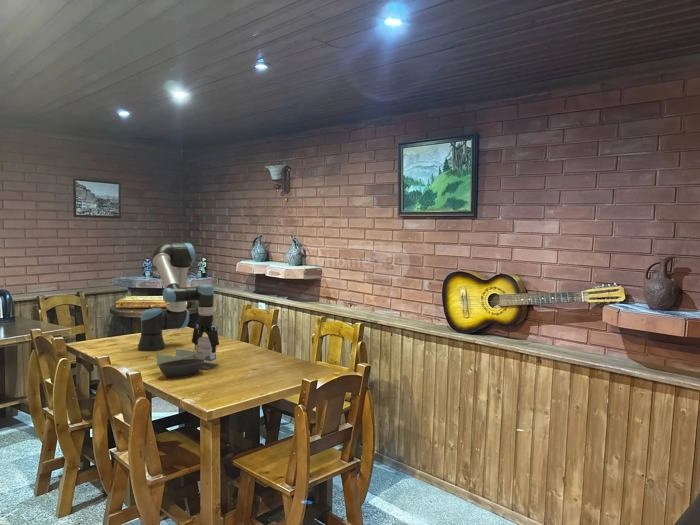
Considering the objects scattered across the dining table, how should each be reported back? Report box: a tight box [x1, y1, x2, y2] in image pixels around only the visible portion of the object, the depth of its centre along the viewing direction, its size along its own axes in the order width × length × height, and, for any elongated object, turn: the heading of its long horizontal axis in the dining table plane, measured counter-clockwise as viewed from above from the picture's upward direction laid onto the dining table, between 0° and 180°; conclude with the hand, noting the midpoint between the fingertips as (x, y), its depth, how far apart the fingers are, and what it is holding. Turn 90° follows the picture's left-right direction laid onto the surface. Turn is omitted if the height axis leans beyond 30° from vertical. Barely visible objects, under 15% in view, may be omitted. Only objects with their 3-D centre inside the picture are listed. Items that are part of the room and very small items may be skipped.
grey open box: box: [156, 348, 198, 366], centre depth 262 cm, size 17×14×6 cm
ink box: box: [198, 335, 217, 362], centre depth 260 cm, size 8×5×12 cm, turn 69°
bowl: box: [157, 359, 205, 379], centre depth 243 cm, size 12×22×6 cm, turn 127°
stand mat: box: [200, 361, 220, 371], centre depth 259 cm, size 10×10×1 cm
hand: (205, 357), depth 259 cm, fingers closed on ink box, 9 cm apart
